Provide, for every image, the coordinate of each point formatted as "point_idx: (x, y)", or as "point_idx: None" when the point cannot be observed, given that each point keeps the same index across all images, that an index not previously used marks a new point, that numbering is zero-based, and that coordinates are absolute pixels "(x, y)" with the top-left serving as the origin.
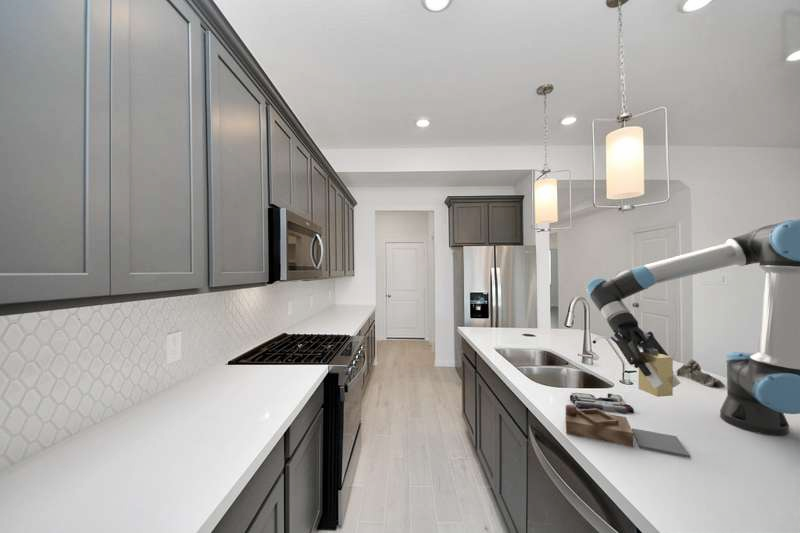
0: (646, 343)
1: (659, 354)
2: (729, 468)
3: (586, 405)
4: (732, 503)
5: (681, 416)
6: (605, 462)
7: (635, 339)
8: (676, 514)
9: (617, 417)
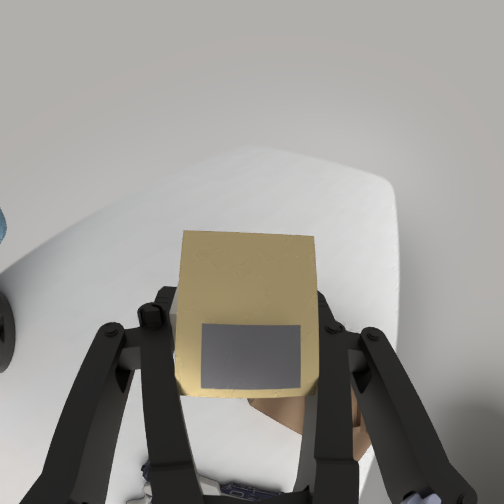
0: (189, 456)
1: (210, 309)
2: (180, 235)
3: (261, 496)
4: (276, 179)
5: (61, 406)
6: (382, 290)
7: (322, 485)
8: (363, 184)
9: (276, 405)
